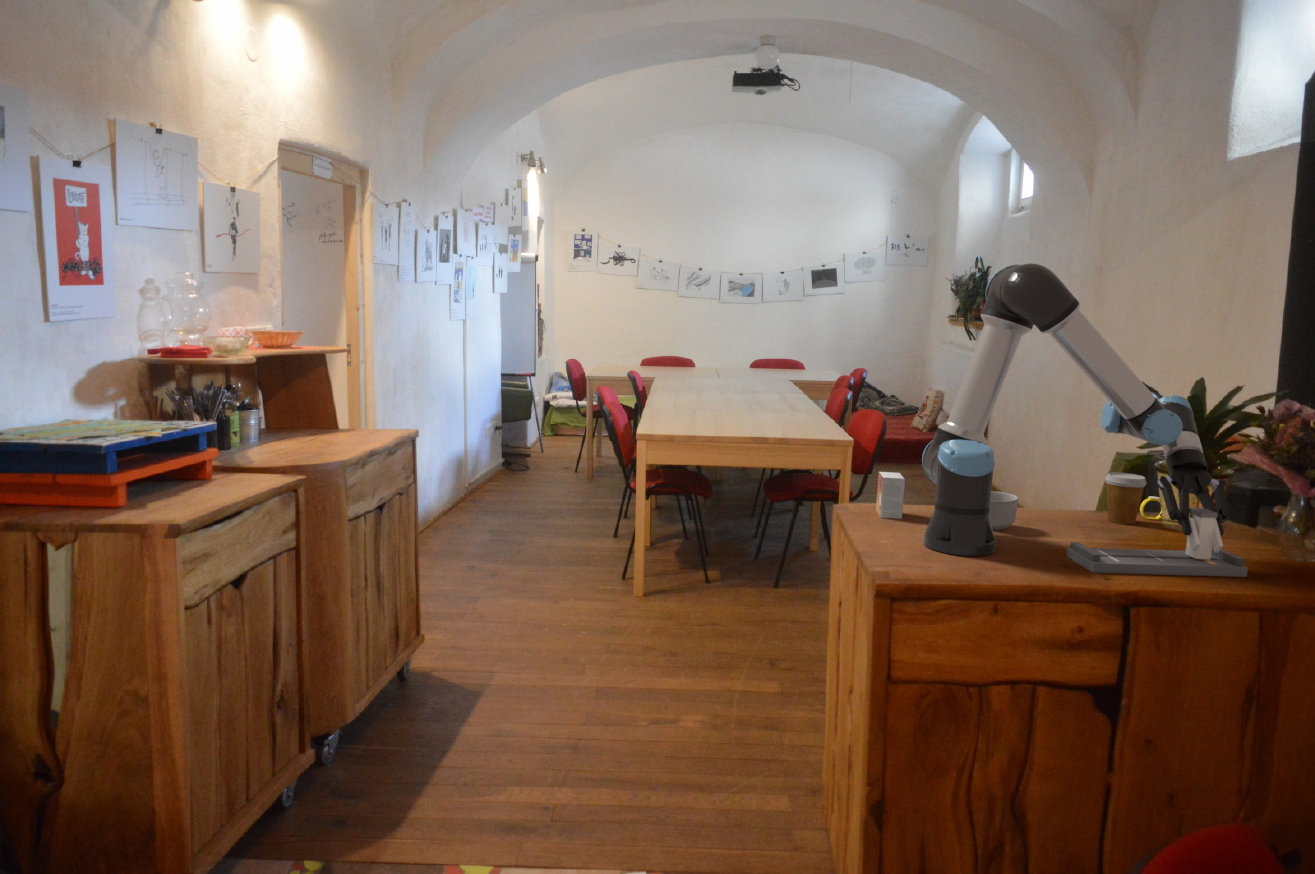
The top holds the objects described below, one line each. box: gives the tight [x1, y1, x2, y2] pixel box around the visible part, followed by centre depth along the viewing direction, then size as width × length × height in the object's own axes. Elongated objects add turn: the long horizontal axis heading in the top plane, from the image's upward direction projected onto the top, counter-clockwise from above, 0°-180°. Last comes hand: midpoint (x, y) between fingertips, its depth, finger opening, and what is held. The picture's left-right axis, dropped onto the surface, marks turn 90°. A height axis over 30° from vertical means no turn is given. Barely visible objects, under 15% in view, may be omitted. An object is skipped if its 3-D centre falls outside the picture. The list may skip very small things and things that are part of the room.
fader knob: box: [1185, 507, 1218, 559], centre depth 193 cm, size 3×4×10 cm
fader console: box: [1065, 541, 1249, 578], centre depth 194 cm, size 32×12×4 cm, turn 90°
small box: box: [875, 471, 906, 520], centre depth 233 cm, size 8×6×10 cm
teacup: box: [989, 490, 1019, 531], centre depth 226 cm, size 14×11×8 cm
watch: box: [1139, 495, 1162, 521], centre depth 238 cm, size 6×3×6 cm, turn 89°
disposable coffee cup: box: [1104, 472, 1148, 525], centre depth 234 cm, size 10×10×12 cm
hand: (1207, 548), depth 189 cm, fingers closed on fader knob, 4 cm apart
